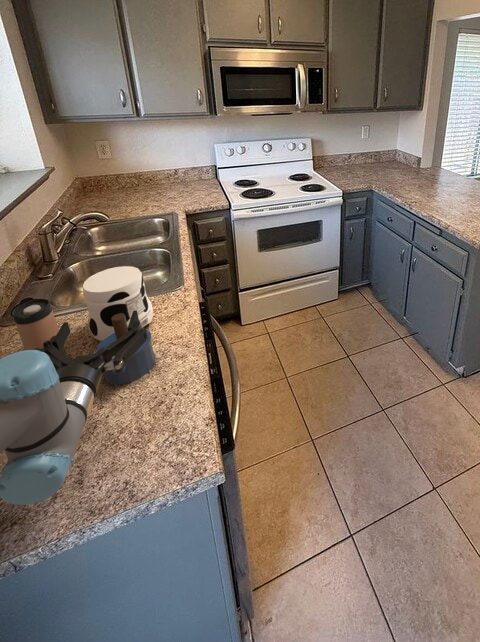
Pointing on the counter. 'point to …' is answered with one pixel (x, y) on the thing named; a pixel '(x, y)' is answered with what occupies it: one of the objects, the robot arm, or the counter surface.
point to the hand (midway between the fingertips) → (102, 321)
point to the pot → (133, 368)
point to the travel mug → (36, 324)
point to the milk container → (115, 299)
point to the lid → (121, 333)
